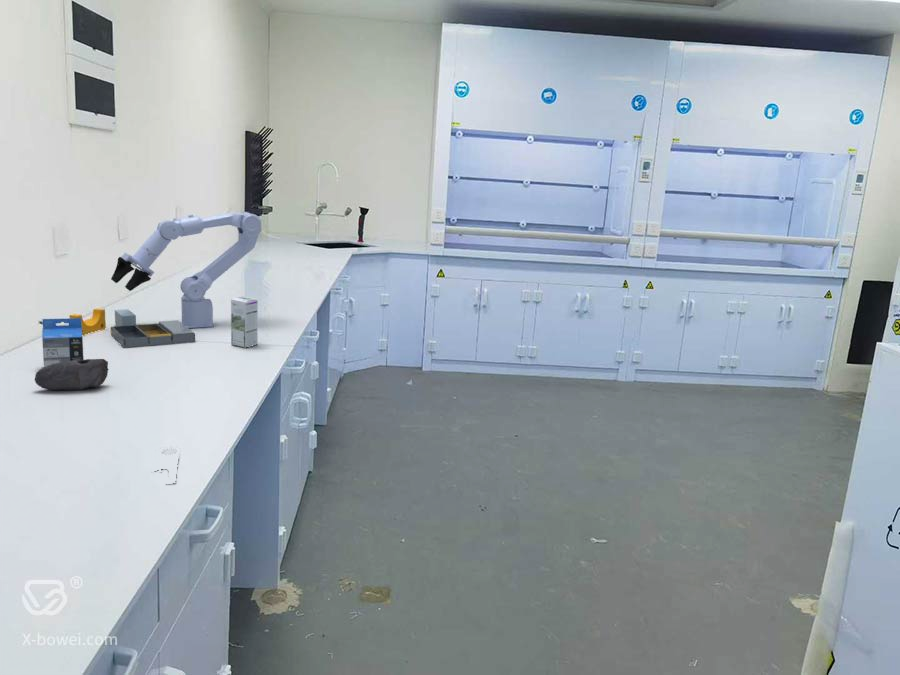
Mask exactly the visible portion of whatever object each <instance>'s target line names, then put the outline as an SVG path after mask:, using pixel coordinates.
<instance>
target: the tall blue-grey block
mask: <svg viewBox="0 0 900 675" xmlns="http://www.w3.org/2000/svg"><path fill="white" fill-rule="evenodd" d="M115 324H116V325H117V326H129V325H137V316H136V314H135V313H134V312H132V311H131V310H129V309H114V325H115ZM116 325H115V326H116Z"/></svg>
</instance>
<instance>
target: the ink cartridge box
mask: <svg viewBox="0 0 900 675" xmlns="http://www.w3.org/2000/svg"><path fill="white" fill-rule="evenodd" d="M61 323H64V324H65V325H60V324H61ZM57 324H59V325H57ZM67 324H68V325H67ZM41 332H42V335H41V336H42V338H41V339H42V340H41V341H42V356H43V357H42V358H43V368H44V367H46V366H49V365H52V364H56V363H60V362H66V361H73V360H85V359H84V342H83V341H84V338H83V337H84V335H83V336H82V324H81V318H72V319H71V318H70V317H69V318H42V331H41Z"/></svg>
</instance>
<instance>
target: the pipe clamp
mask: <svg viewBox="0 0 900 675" xmlns="http://www.w3.org/2000/svg"><path fill="white" fill-rule="evenodd" d="M69 318H71V319H72V318H81V324H82V335H83V336H86V335H85V334H87V335H89V334H88V333H90V334H92V333H91V332H93V333H96V332H95V331H97V332H99V331H98V330H100V331H102V330H101V329H104V330H106V329H107V324H106V310H105V308H93V311H92V316H91V318H87V319H83V315H82V314H77V313H76V314H75V313H73V314H70V315H69ZM105 328H106V329H105Z"/></svg>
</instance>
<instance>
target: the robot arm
mask: <svg viewBox="0 0 900 675" xmlns="http://www.w3.org/2000/svg"><path fill="white" fill-rule="evenodd" d="M222 226H232V227H236V228H237V234H238V238H237V239H238V241H236V242H235V243H234V244H233V245H232V246H230V247H229V248H228V249H227V250H225V251H224V252H223V253H222V254H220V255H219V256H217V258H215V259H214V260H213V261H212V262H211V263H209V264H208V265H207V266H206V267H204V268H203V269H202V270H200V271H198V272H196V273H194V274H192V276H189V277H185V278H183V280H182V281H181V283H180V291H181V292H182V293H183V295H182V297H181V303H180V304H181V321H179V322H180V323H182V324H183V325H185V326H186V327H187V328H189V329H197V328H210V327H215V326H214V313H213V311H214V307H213V302H212V299H210V298H205V295H206V293H207V291H208V290H209V289H210V288H211V287H212V284H213V283H214V282H215V281H216V280H217V279H219V278H220V277H221V276H222V275H224V273H226V272H227V271H228V270H229V269H231V267H233V266H234V265H235V264H237V263H238V262H239V261H241V259H243V258H244V257H245V256H246V255H247V254H249V253H250V252H251V251H252V250H253V249H254V248H255V246H256V243H257V240H258V238H259V236H260V233H261V232H262V221H261V218H260V217H259V216H258V215H256V214H254V213H250V212H248V211H241V212H240V211H239V212H238V211H236V212H228V213H223V214H218V215H214V216H209V217H204V218H201V217H200V216H198V215H193V214H188V215H187V217H181V218H177V217H173V218H172V220H169V219H164V220H162V221H160V222H158V224H157V227H156V230H155V231H154V232H153V233H152V234H150V235H149V237H147V239H146V240H145V241H144V243H143V244H142V245H141V246H140V247H139V248H138V250H137V251H136V252H135V253H134V254H133V255H132V254H131V255H130V254H128V252H124V253H123V255H121V256H119V257H118V258H117V261H116V262H117V264H116V267H115V270H114V271H113V274H112V276H111V279H110V280H111V281H113V282H114V283H115V284H118V283H119V282H120V281H121V280H122V279H123V278H124V277H125V276H126V275H128V274H129V273H131V272H132V271H134V272H133V274H132V275H131V277H130V279H129V280H128V281H127V283H126V284H125V286H124V287H125V289H126V290H128V291H129V292H131V291H133V290H134V289H136V288H138V286H140V285H142V284H144V283H146V282H149V281H151V280H152V278H151V277H152V276H153V275H154V274H155V271H154V270H152V269H151V268H150V267H151V265H153V264H154V263H155V262H156V260H157V259H158V258H159V257H160V256H161V255H162V253H163V252H164V251H165V250H166V248H167V247H168V245H169V244H170V243H171V242H172V240H173V241H175V240H177V239H178V238H179V237H181V238H182V237H187V236H192V235H199V234H202V232H203V231H204V229H209V228H210V229H211V228H215V227H222ZM133 266H134V267H135V268H134V267H133Z"/></svg>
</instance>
